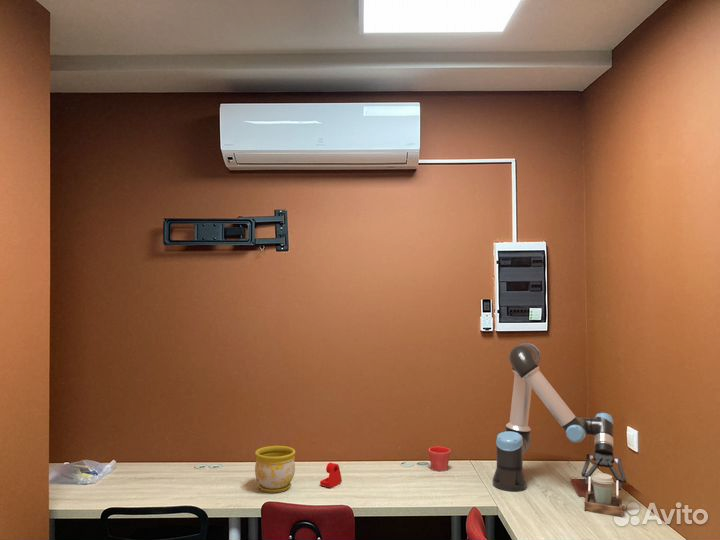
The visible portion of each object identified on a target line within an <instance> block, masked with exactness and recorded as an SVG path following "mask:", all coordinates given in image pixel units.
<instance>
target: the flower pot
mask: <svg viewBox="0 0 720 540" xmlns="http://www.w3.org/2000/svg"><path fill="white" fill-rule="evenodd" d="M428 455H429V462H430V466H431V470H433V471H435V472H445V471H447V469H448V467H449V461H450V456H451V449H450V448H447V447H444V446H432V447H430V448H428Z"/></svg>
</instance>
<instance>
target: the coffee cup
mask: <svg viewBox="0 0 720 540" xmlns="http://www.w3.org/2000/svg"><path fill="white" fill-rule="evenodd" d="M614 480H615V479H614V478H613V475H611V474H609V473H604V472H596V473H595V472H594V473H593V474H592V475H591V481H592V484H593V488H594V496H595V503H597V504H603V505H609V506H611V499H612V495H613V488H614V483H615V482H614Z"/></svg>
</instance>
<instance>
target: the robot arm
mask: <svg viewBox="0 0 720 540" xmlns="http://www.w3.org/2000/svg"><path fill="white" fill-rule="evenodd" d="M508 360H509V361H508V362H509V363H510V365H511V371H512V372H513V374H514V378H513V387H512V395H511V396H512V397H511V406H510V414H509V415H510V417H509V422H508V423H506V424H505V431H502V432H500V433H498V434H497V435H496V440H495V445H496V467H495V471H494V475H493V477H492V485H493V486H494V487H495V488H497V489H499V490H502V491H508V492H521V491H524V490H526V489H527V486H528V485H527V480H526V476H525V474H524V470H523V467H524V466H523V461H524V460H523V456H525V453H527V452H528V451H529V450H530V448H531V446H532V438H531V427H530V426H529V418H530V417H529V416H530V408H531V399H532V398H531V397H532V390H533V392H534V393H535V394H536V396H537V397H538V398H539V399H540V401H542V403H543V404H544V406H545V407H546V408H547V410H548V411H549V412H550V413H551V415H552V416H553V417H554V418H555V420H556V421H557V422H558V424H559V425H560V427H562V429H563V431H564V432H565V435H566V437H567V439H568V441H570V442H571V443H573V444H574V443H576V444H577V443H581V442H583V441H584V439H586V436H587V435H588V436H594V454H593V455H590V454H587V453H586V460H585V462H584V465H583V467H582V469H581V478H586V485H588V494H590V491H591V483H592V482H591V481H592V476H593V474H594V473H595V471H596V470H597V469H598V468H599V467H603V468H607V469H609V470H610V471H611V473H612V474H613V475H612V476H614V478H615V479H616V484H615V485H616V486H615V487H616V492H615V493H616V495H615V496H616V498H617V499H618V496H619V491H622V489H623V487H622V484H626V483H627V477H626V473H625V471H624V468H623V466H622V458H619V457H618V458H615V457H614V428H615V426H614V418H613V417H612V415H611V414H609V413H607V412H600V413H599V412H598V413H596V415H595V417H577V416H576V415H575V414H574V412H572V411H573V410H571V409H570V407H569V406H568V404H567V403H565V401H564V400H563V399H562V397H561V396H560V395H559V394H558V392H557V391H556V390H555V389H554V387H553V385H551V384H550V382H549V381H548V380H547V378H546V377H545V376H544V374H543V373H542V372H541V370H540V366H539V362H540V360H541V353H540V350H539V348H538V347H536V346H535V345H534V344H532V343H527V342H526V343H520V344H518V345H515V346H514V347H513V348H511V350H510V351H509V355H508ZM592 460H594V462H593V464H592V466H591V467H590V466H589V465H590V462H592ZM614 463H615V464H616V465H617V467H618V471H619V473H618V471H617V470H616V469H615V467H614V465H613V464H614ZM589 467H590V468H589ZM588 468H589V470H588ZM619 474H620V475H619Z"/></svg>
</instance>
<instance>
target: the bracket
mask: <svg viewBox="0 0 720 540" xmlns="http://www.w3.org/2000/svg"><path fill="white" fill-rule="evenodd" d="M325 471H326V473H327V474H328V477H325V478H324V479H321V480H319V482H320V483H319V485H320V486H322V487H326V488H329V489H331V488H335V487H338V486H339V485H340V484H341V483H342V481H343V478H342V474H341V470H340V466H339V464H338V463H333V462H328V463H327V464H326V469H325Z"/></svg>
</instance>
